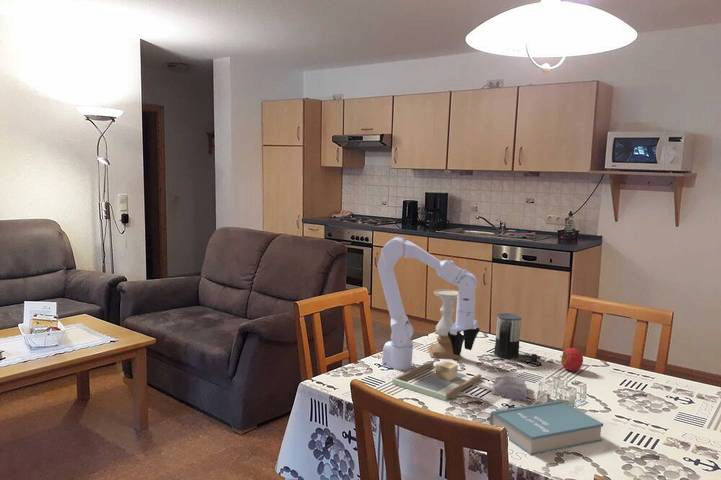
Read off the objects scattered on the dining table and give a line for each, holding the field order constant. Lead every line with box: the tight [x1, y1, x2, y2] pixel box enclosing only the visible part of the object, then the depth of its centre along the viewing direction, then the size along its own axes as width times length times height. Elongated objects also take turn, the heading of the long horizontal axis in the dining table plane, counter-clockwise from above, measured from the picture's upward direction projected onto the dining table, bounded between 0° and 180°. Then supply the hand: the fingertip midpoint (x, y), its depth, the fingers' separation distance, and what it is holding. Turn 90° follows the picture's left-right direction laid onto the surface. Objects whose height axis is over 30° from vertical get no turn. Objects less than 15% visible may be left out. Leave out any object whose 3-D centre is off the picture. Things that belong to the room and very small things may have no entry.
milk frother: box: [493, 312, 542, 362], centre depth 204 cm, size 14×16×15 cm
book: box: [489, 400, 604, 456], centre depth 145 cm, size 23×16×5 cm
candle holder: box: [427, 288, 463, 360], centre depth 200 cm, size 11×11×24 cm
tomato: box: [559, 347, 584, 372], centre depth 194 cm, size 8×8×8 cm
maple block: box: [434, 360, 459, 381], centre depth 178 cm, size 5×5×4 cm
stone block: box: [492, 375, 528, 401], centre depth 172 cm, size 12×5×10 cm
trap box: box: [392, 360, 482, 402], centre depth 174 cm, size 18×23×3 cm
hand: (462, 352), depth 181 cm, fingers open, 7 cm apart
